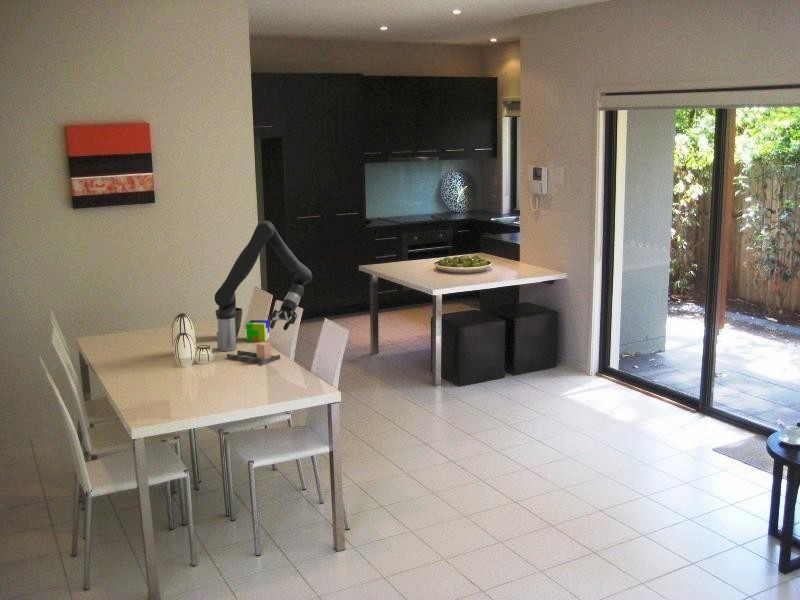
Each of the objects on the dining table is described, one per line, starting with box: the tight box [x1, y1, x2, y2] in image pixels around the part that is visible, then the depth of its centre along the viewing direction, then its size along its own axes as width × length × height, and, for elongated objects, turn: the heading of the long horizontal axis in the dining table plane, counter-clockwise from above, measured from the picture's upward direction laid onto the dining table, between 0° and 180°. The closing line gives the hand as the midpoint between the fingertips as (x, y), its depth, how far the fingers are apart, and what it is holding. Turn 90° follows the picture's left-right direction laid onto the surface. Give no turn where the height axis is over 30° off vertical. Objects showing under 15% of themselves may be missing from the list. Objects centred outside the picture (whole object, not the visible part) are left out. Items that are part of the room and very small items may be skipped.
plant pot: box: [214, 307, 243, 338], centre depth 472 cm, size 15×15×16 cm
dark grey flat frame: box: [224, 350, 281, 366], centre depth 421 cm, size 25×14×4 cm, turn 60°
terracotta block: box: [256, 341, 272, 360], centre depth 416 cm, size 5×5×9 cm
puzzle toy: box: [245, 319, 270, 343], centre depth 468 cm, size 10×10×10 cm
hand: (277, 328), depth 424 cm, fingers open, 8 cm apart
